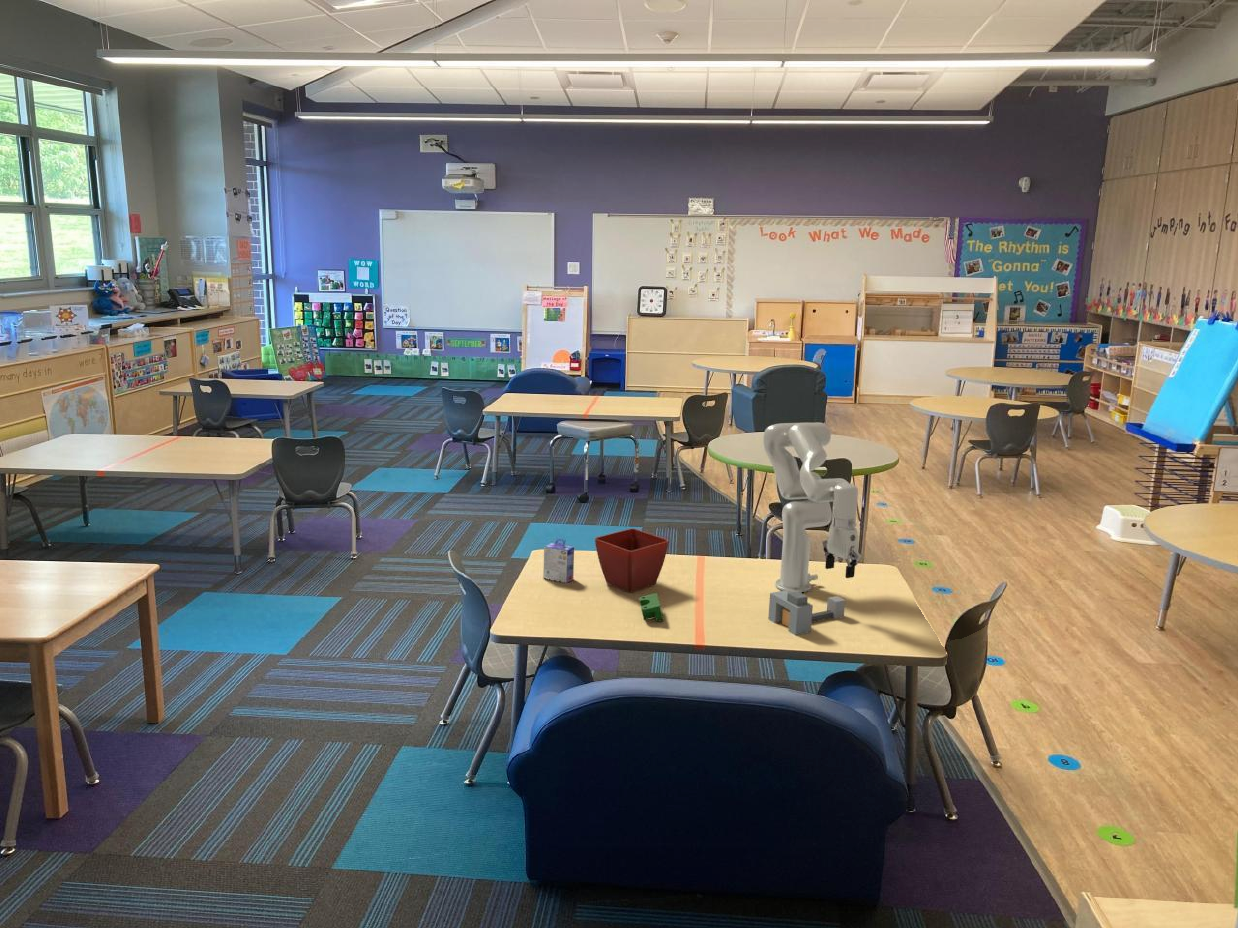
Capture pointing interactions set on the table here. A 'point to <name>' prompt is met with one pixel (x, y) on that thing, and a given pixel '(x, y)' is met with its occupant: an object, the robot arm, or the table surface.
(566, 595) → the table surface
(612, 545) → the plant pot
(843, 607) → the cube-ended rod
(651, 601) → the clamp
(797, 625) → the housing
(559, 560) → the ink cartridge box
